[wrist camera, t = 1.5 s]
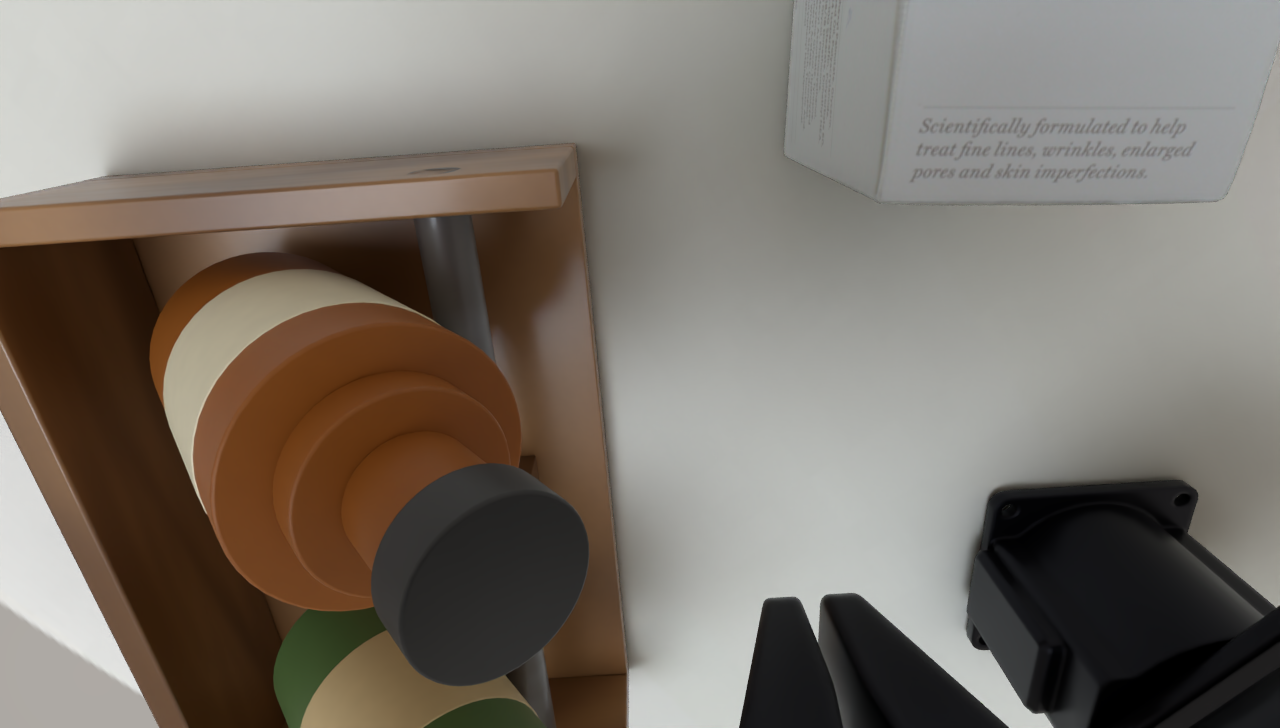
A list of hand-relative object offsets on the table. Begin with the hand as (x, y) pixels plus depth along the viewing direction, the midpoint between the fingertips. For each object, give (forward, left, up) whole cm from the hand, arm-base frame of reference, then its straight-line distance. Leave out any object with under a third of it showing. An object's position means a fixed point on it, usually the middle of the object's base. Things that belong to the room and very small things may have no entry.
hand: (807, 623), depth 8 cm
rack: (+9, +5, -12) cm, 16 cm away
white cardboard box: (-5, -6, -13) cm, 15 cm away
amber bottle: (+8, 0, -12) cm, 14 cm away
